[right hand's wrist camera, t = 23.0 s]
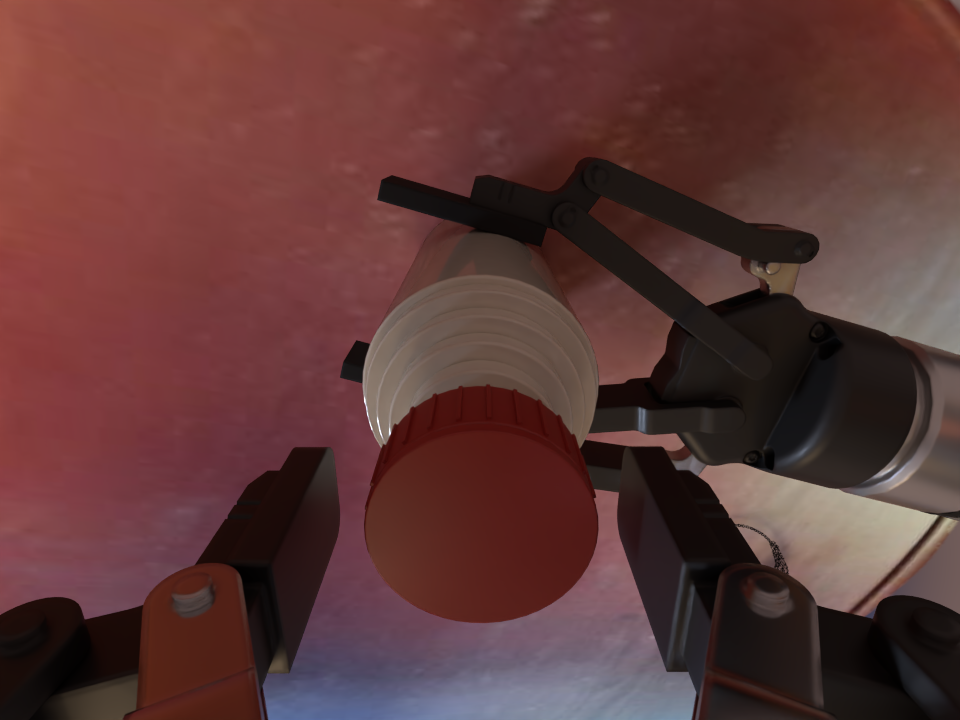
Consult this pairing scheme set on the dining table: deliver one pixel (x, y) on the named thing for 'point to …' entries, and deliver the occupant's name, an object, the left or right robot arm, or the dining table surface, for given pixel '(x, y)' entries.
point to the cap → (481, 506)
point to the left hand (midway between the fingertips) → (366, 277)
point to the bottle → (479, 332)
